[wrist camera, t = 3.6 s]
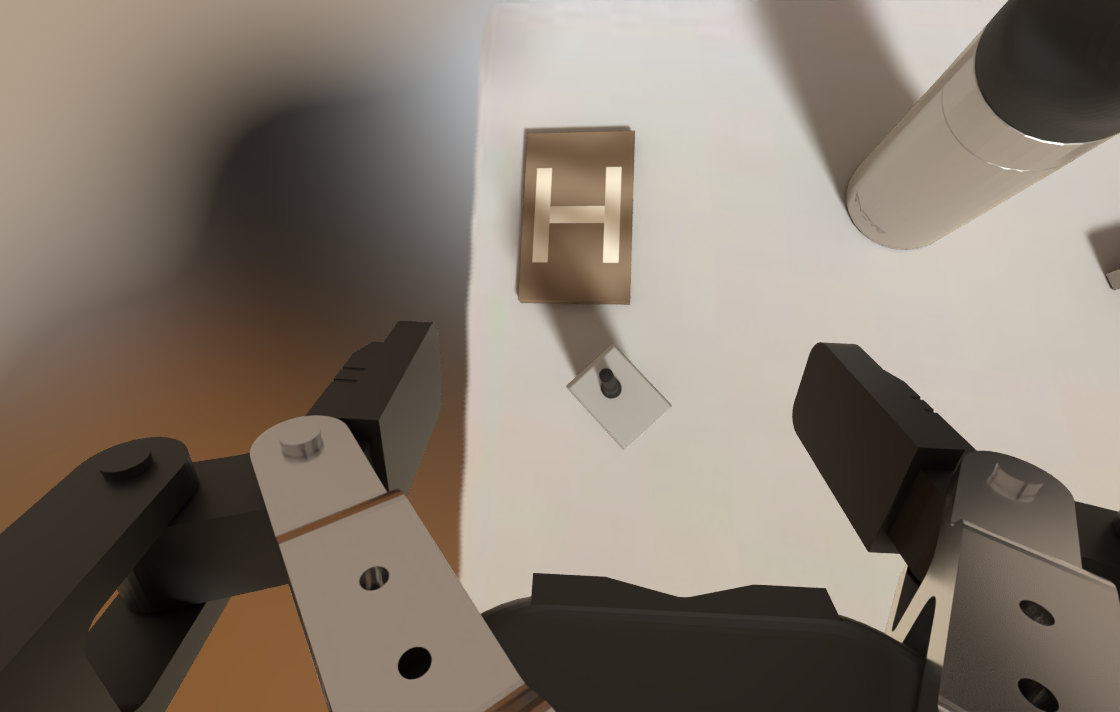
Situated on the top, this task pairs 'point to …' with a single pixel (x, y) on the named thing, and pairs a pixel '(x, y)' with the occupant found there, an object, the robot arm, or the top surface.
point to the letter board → (577, 218)
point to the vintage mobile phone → (619, 396)
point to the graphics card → (1114, 279)
